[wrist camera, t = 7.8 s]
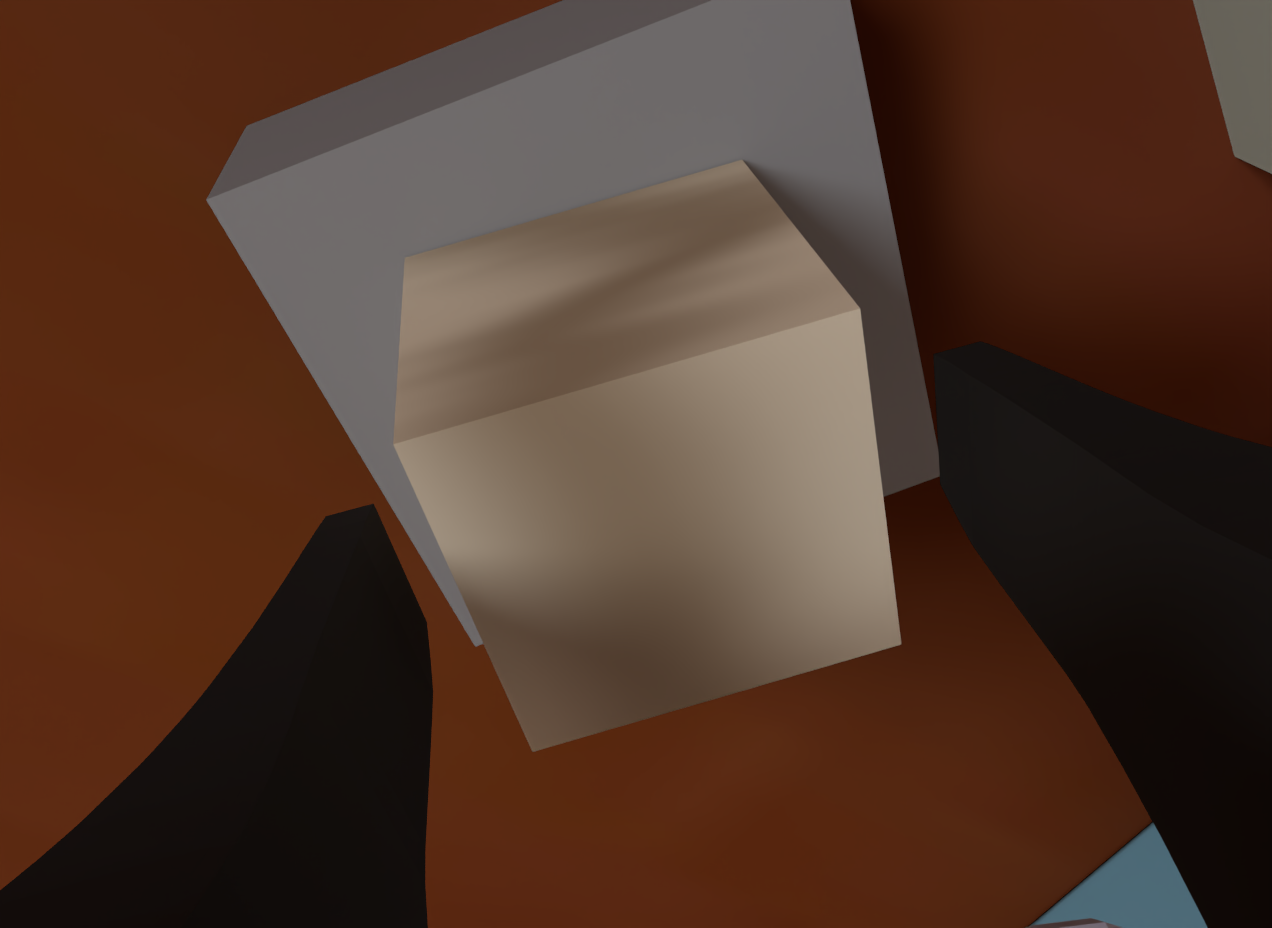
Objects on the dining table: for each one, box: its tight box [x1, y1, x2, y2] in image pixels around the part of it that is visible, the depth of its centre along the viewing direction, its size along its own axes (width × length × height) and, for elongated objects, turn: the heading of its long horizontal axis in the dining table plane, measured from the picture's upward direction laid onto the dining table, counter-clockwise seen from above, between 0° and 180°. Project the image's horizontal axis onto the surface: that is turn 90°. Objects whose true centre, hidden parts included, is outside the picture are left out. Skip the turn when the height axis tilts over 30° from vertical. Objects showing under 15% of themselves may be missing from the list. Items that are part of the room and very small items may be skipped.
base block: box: [206, 0, 940, 646], centre depth 18 cm, size 9×9×4 cm
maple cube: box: [393, 160, 901, 752], centre depth 14 cm, size 5×5×5 cm
